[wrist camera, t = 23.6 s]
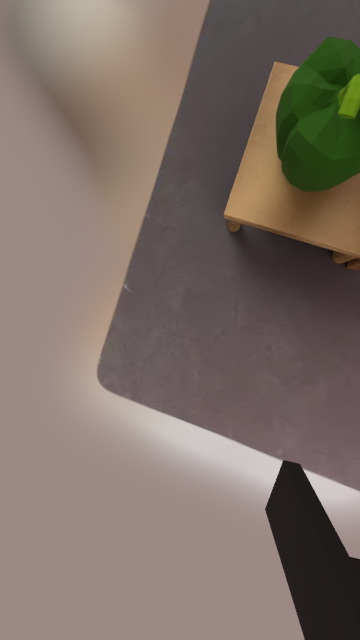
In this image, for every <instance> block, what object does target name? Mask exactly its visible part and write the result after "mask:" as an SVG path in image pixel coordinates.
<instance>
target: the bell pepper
mask: <svg viewBox="0 0 360 640" xmlns="http://www.w3.org/2000/svg"><path fill="white" fill-rule="evenodd" d="M276 144H277V154H278V158H279V159H280V160H281V161H282V165H281V166H282V172H283V174H284V175H285V177H286V179H287V180H288V182H289V184H291V185H293V186H295V187H297V188H299V189H301V190H303V191H305V192H313V191H324V190H327V189H330V188H332V187H334V186H336V185H338V184H341V183H342V182H344V181H346V180H348V179H350V178H351V177H353V176H355V175H357V174H359V173H360V49H359V48H358V47H357V46H356V45H355V44H354V43H353V42H352V41H351V40H345V39H339V38H334V37H327V38H326V39H325V40H324V41H323V42H322V43H321V44H320V45H319V47H318V48H317V49H316V50H315V51H314V52H313V53H312V54H311V55H310V56H309V57H308V58H307V59H306V60H305V61H304V62H303V63H302V65H301V66H300V67H299V68H298V69H297V70H296V71H295V72H294V73H293V75H292V77H291V78H290V80H289V82H288V84H287V85H286V87H285V89H284V91H283V92H282V94H281V97H280V101H279V104H278V108H277V112H276Z"/></svg>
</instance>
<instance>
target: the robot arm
mask: <svg viewBox="0 0 360 640" xmlns="http://www.w3.org/2000/svg"><path fill="white" fill-rule="evenodd" d="M265 510H266V514H267V517H268V520H269V523H270V527H271V530H272V533H273V536H274V540H275V543H276V546H277V550H278V553H279V556H280V559H281V563H282V566H283V569H284V572H285V576H286V579H287V582H288V585H289V589H290V592H291V596H292V599H293V602H294V605H295V609H296V612H297V615H298V619H299V622H300V625H301V628H302V631H303V635H304V638H305V640H360V559H357V558H352V557H349V555H348V553H347V551H346V549H345V547H344V546H343V544H342V542H341V540H340V538H339V536H338V534H337V532H336V531H335V529H334V527H333V525H332V523H331V521H330V519H329V517H328V516H327V514H326V512H325V510H324V508H323V506H322V504H321V502H320V501H319V499H318V497H317V495H316V493H315V491H314V489H313V488H312V486H311V484H310V482H309V480H308V478H307V476H306V474H305V473H304V471H303V469H302V467H301V465H300V464H298V463H294V462H289V461H285V460H283V463H282V466H281V468H280V471H279V474H278V476H277V479H276V482H275V484H274V487H273V490H272V492H271V495H270V498H269V500H268V503H267V506H266V508H265Z"/></svg>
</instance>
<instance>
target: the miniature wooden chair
mask: <svg viewBox="0 0 360 640" xmlns="http://www.w3.org/2000/svg"><path fill="white" fill-rule="evenodd" d="M298 68H299V67H296V66H292V65H288V64H283V63H279V62H274V65H273V68H272V71H271V74H270V77H269V80H268V83H267V86H266V89H265V92H264V95H263V98H262V101H261V104H260V107H259V110H258V113H257V116H256V119H255V122H254V125H253V128H252V131H251V134H250V137H249V140H248V143H247V146H246V149H245V152H244V155H243V158H242V161H241V164H240V167H239V170H238V173H237V176H236V179H235V182H234V185H233V188H232V191H231V194H230V197H229V200H228V203H227V206H226V209H225V212H224V218H225V219H227V228H228V230H229V231H231V232H236V231H238V230H239V229H240V227H241V224H245V225H248V226H252V227H255V228H259V229H262V230H265V231H269V232H272V233H276V234H279V235H282V236H286V237H289V238H292V239H296V240H299V241H303V242H306V243H309V244H313V245H316V246H319V247H323V248H326V249H330V250H333V251H334V252H333V254H332V259H333V261H334V262H335V263H338V264H341V263H344V262H347V261H348V263H347V266H346V268H348V269H351V270H354V271H359V270H360V173H359V174H357V175H355V176H353V177H351V178H350V179H348V180H346V181H344V182H342V183H341V184H338V185H336V186H334V187H332V188H330V189H327V190H324V191H313V192H305V191H303V190H301V189H299V188H297V187H295V186H293V185H291V184H289V182H288V180H287V179H286V177H285V175H284V174H283V172H282V166H281V165H282V161H281V160H280V159H279V158H278V154H277V144H276V112H277V108H278V104H279V101H280V97H281V94H282V92H283V91H284V89H285V87H286V85H287V84H288V82H289V80H290V78H291V77H292V75H293V73H294V72H295V71H296V70H297V69H298Z"/></svg>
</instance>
